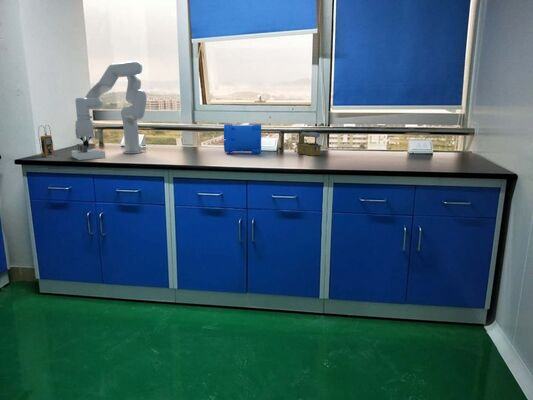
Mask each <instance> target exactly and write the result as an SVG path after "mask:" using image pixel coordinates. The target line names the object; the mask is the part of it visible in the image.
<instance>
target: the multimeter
mask: <svg viewBox="0 0 533 400" xmlns="http://www.w3.org/2000/svg"><path fill="white" fill-rule="evenodd" d="M40 127H41V125H39V127H38V128H40ZM42 127H43V129H44V131H46V130H47V128H46V126H45V125H42ZM48 127H49V129H51V127H50V126H48ZM49 133H50V135H48V134H47V132H44V135H41V136H39V138H38V141H39V143H40V145H39V147H40V148H39V149H40V150H41V151H40V152H41V153H40V154H41V157H42V158H45V159H46V158H47V157H48V158H49V157H50V158H53V157H58V156H59V154H56V153H55V151H54V144H53V143H54V142H53V137H52V135H51V134H52V133H51V131H49ZM38 134H40V129H38ZM55 155H56V156H55Z"/></svg>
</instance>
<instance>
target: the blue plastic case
mask: <svg viewBox="0 0 533 400" xmlns="http://www.w3.org/2000/svg"><path fill="white" fill-rule="evenodd" d="M223 150H224V153H231V152H232V153H236V152H239V153H240V152H244V153H245V152H250V153H252V154H262V124H250V125H249V124H247V125H246V124H242V125H241V124H238V125H237V124H236V125H234V124H232V123H230V124H229V123H224V125H223Z"/></svg>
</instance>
